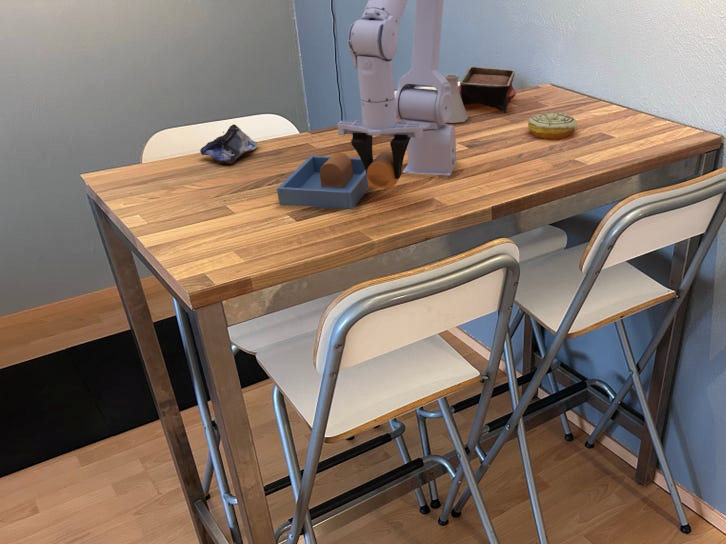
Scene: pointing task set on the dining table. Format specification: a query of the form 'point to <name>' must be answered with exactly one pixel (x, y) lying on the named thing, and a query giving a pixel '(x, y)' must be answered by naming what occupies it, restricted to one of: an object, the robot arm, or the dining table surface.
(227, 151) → the snack package
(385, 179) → the bread roll
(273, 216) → the dining table surface
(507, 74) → the square planter pot
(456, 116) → the flask
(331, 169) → the cylinder
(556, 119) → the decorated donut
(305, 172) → the tray
